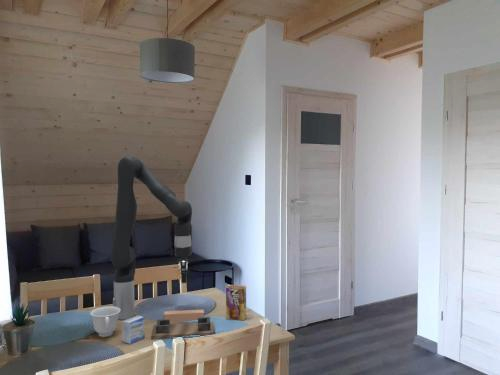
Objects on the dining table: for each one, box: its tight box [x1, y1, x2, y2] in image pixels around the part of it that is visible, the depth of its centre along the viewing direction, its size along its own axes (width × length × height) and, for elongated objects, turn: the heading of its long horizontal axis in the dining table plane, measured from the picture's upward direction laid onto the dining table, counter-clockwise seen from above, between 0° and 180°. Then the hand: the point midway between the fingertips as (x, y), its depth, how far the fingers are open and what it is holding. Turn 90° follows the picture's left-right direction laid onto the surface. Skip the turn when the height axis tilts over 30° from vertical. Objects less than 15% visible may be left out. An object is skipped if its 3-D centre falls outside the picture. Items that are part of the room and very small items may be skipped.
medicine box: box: [121, 315, 146, 345], centre depth 167 cm, size 8×4×9 cm, turn 148°
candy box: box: [225, 284, 247, 321], centre depth 191 cm, size 9×4×15 cm, turn 79°
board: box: [150, 316, 216, 340], centre depth 175 cm, size 26×12×4 cm, turn 98°
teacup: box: [89, 305, 120, 338], centre depth 171 cm, size 12×15×10 cm
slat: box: [163, 309, 205, 324], centre depth 188 cm, size 18×4×4 cm, turn 98°
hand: (184, 280), depth 187 cm, fingers open, 8 cm apart
